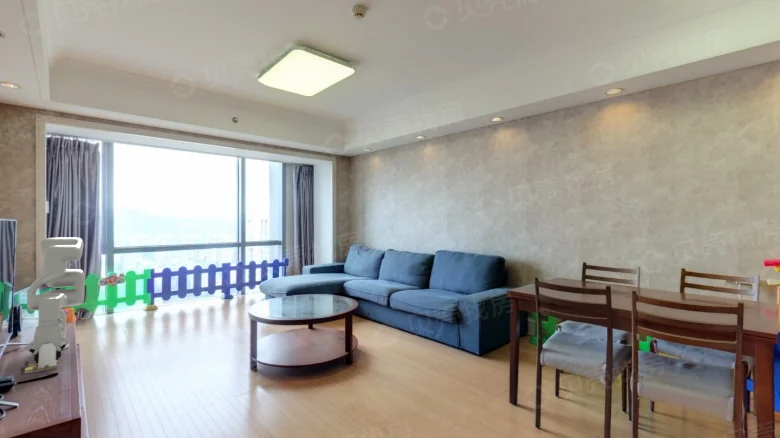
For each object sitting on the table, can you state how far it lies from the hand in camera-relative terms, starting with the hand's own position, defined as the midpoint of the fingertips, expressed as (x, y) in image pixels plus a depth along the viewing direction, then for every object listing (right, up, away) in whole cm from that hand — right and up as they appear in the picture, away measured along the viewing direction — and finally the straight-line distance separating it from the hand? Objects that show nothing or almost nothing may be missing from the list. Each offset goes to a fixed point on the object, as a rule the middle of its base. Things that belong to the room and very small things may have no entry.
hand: (47, 360), depth 173 cm
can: (0, -3, 0) cm, 3 cm away
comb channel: (-2, -3, -1) cm, 4 cm away
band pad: (-5, -3, -4) cm, 7 cm away
